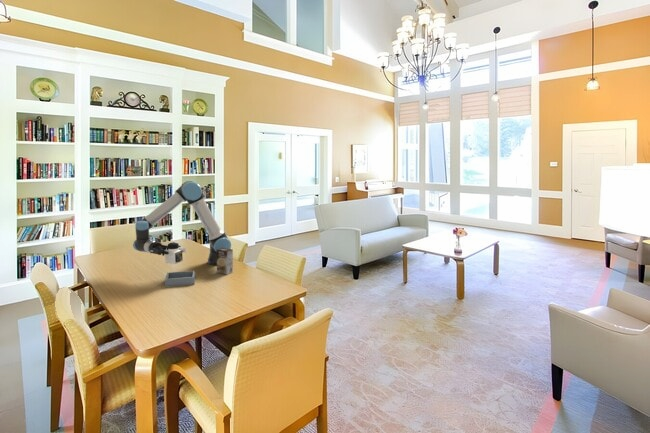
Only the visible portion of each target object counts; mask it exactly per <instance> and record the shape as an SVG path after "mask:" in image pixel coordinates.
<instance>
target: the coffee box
mask: <svg viewBox="0 0 650 433" xmlns="http://www.w3.org/2000/svg"><path fill="white" fill-rule="evenodd" d="M233 251H234V250H233V249H232V248H230V249H227V248H220V249H217V265H216V273H218V274H221V275H222V274H223V275H229V274H232V273H234V262H233V261H234V258H233V256H234V254H233V253H234V252H233Z"/></svg>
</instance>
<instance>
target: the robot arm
mask: <svg viewBox="0 0 650 433" xmlns="http://www.w3.org/2000/svg"><path fill="white" fill-rule="evenodd" d="M205 199H206V195H205V194H204V192H203V190H202V187H201V185H200V184H198V183H197V182H195V181H193V180H186V181H185V182H183V183H182V184H181V185H180V187H178V188H177V189H175V191H174V194H172V195H171V196H169V198H167V199H166V200H165V201H163V203H161V204H160V205H159V206H157V207H156V208H155V209H154V210H152V211H151V212H149V214H147V215H146V216H145V217H144V218H143V219H141V220H139V221H135V224H134V226H135V227H134V228H135V237H136V239H135V240H134V241H133V244H132V247H133V249H134V250H136V251H139V252H141V253H142V252H143V253H149V254H150V255H151V254H153V255H158V256H162V257H163V256H164V257H165V255H171V256H174V252H173V251H170V250H168V244H167V245H165V244H162V242H159V241H156V240H155V241H153V240H150V230H151V228H152V227H153V226H154V227H155V225H156V224H157V223H158V222H160V221H161V220H162V219H163V218H165V217H166V216H167V215H169V213H171V212H172V211H173V210H175V209H176V208H177V207H179V205H181V204H182V203H185V202H187V204H188V205H189V206H192V208H193V210H194V211H195V213H196V215H197V217H198V218H199V220H200V222H201V224H202V226H203V227H204V229H205V231H206V232H207V234H208V236H209V237H208V241H209V255H208V258H207V264H208V265H211V266H217V249H220V248H227V249H232V243H231V240H230V239H229V238H228V236H227V233H226V232H227V231H225V230H222V229H221V227H220V226H219V224H218V222H217V221H216V219H215V217H214V215H213V213H212V211H211V210H210V208H209V206H208V204H207V203H206V201H205ZM178 250H182V253H187V249H186V247H182V246H181V245H179V249H178Z"/></svg>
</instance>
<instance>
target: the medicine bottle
mask: <svg viewBox="0 0 650 433" xmlns="http://www.w3.org/2000/svg"><path fill="white" fill-rule="evenodd" d="M167 245H168V250H170V251H173V252H174V256H171V255H164V257H165V258H164V259H165V264H171V265H172V264H173V265H176V264H179V263H181V262H183V260H184V259H183V258H184V257H183V252H182V250H178V249H179V246H180V244H179V243H178V242H175V241H174V242H169V243H167Z"/></svg>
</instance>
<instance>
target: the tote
mask: <svg viewBox="0 0 650 433" xmlns="http://www.w3.org/2000/svg"><path fill="white" fill-rule="evenodd" d="M195 276H196V274H195V270H186V271H185V270H184V271H174V272H172V271H171V272H167V273H166V276H165V278H164V279H165V280H164V282H165V284H164V285H165V287H166V288H168V287H177V286H178V287H181V286H193V285H195V282H196V281H195V280H196V279H195V278H196V277H195Z"/></svg>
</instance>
